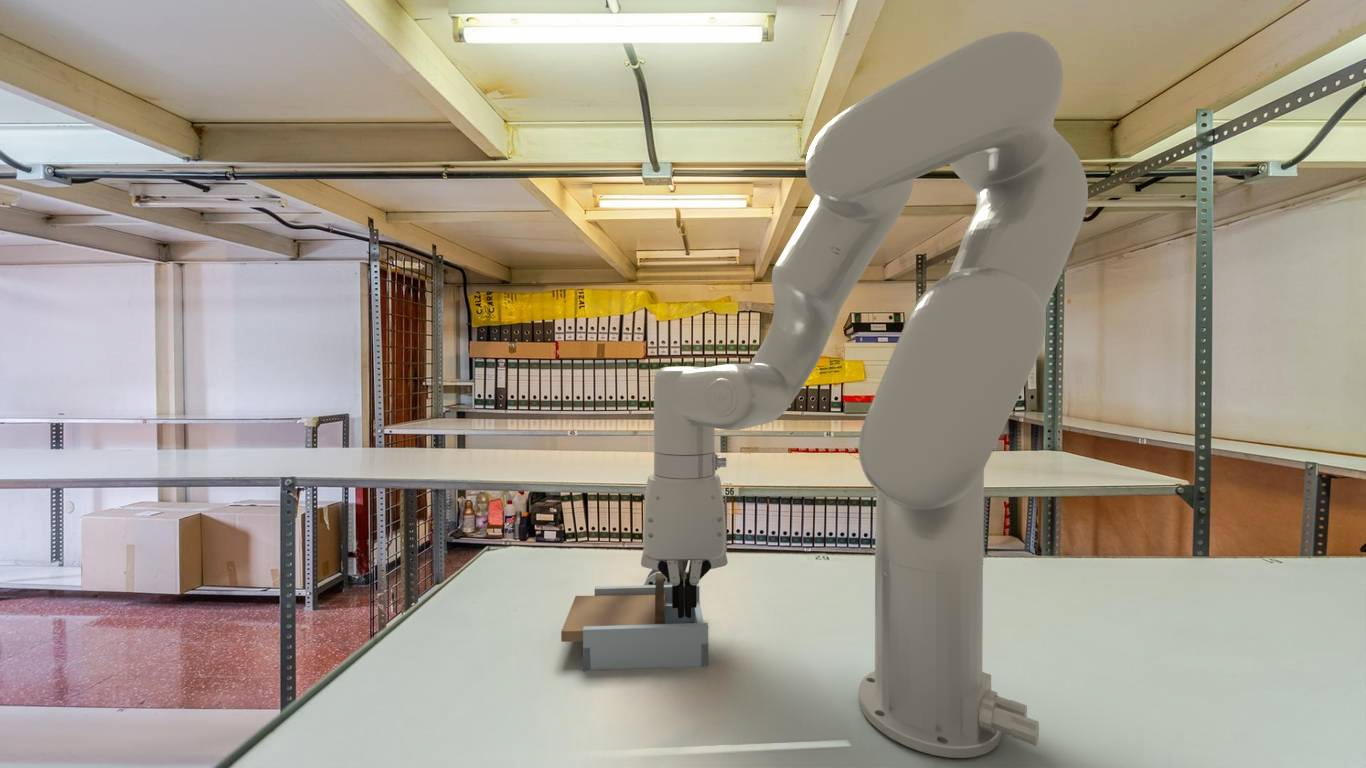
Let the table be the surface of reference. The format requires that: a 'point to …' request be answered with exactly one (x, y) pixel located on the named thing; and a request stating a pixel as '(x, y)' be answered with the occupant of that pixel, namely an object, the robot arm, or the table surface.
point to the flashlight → (652, 576)
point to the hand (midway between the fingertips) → (684, 612)
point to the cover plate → (614, 611)
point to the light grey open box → (647, 638)
